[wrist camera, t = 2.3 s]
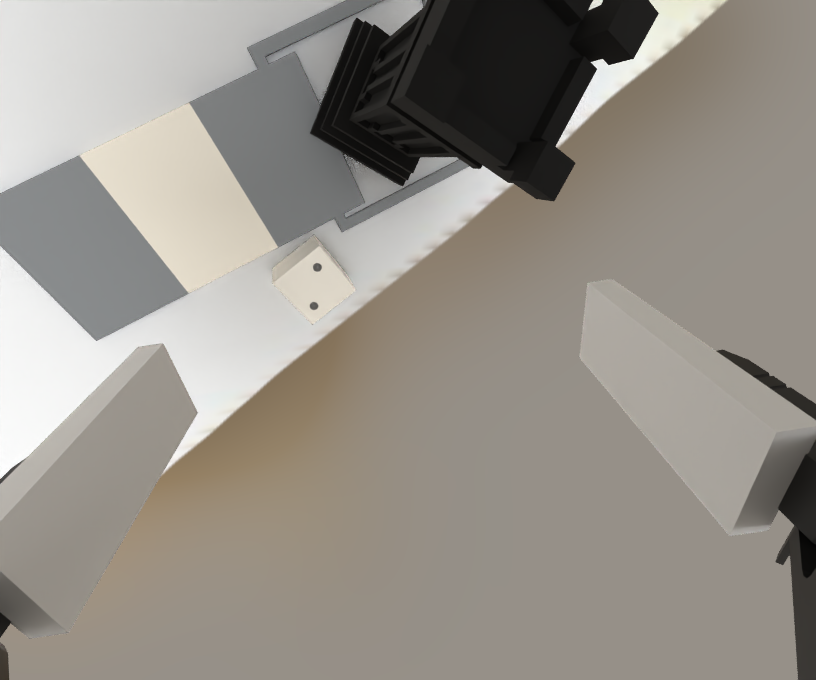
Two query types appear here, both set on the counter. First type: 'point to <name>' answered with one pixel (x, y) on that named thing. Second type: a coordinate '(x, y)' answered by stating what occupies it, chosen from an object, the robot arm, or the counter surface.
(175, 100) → the counter surface
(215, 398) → the counter surface
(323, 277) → the die
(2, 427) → the counter surface
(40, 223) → the track
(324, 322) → the counter surface
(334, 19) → the grey flat square frame
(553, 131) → the chess piece
